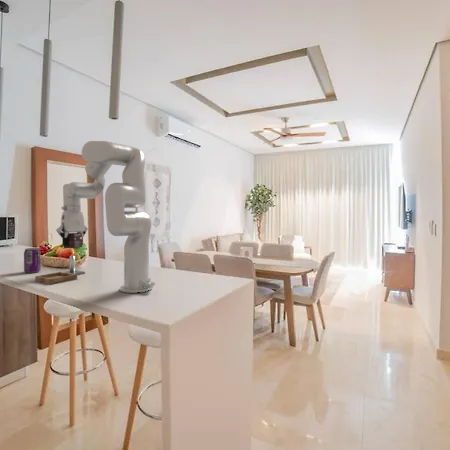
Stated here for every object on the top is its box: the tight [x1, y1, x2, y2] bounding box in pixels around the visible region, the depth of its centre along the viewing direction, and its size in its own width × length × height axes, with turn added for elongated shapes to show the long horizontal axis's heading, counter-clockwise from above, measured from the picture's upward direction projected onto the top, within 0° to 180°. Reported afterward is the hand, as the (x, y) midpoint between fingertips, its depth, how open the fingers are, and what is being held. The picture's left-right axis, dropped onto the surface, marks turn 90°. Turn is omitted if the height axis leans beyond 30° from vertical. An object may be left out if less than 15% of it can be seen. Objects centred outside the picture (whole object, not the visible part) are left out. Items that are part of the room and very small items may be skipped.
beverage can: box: [23, 247, 42, 274], centre depth 155 cm, size 7×7×12 cm
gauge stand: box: [64, 255, 86, 276], centre depth 152 cm, size 8×8×9 cm
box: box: [63, 232, 83, 249], centre depth 151 cm, size 6×6×7 cm
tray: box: [34, 271, 78, 285], centre depth 138 cm, size 12×12×2 cm
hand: (73, 245), depth 151 cm, fingers closed on box, 7 cm apart
